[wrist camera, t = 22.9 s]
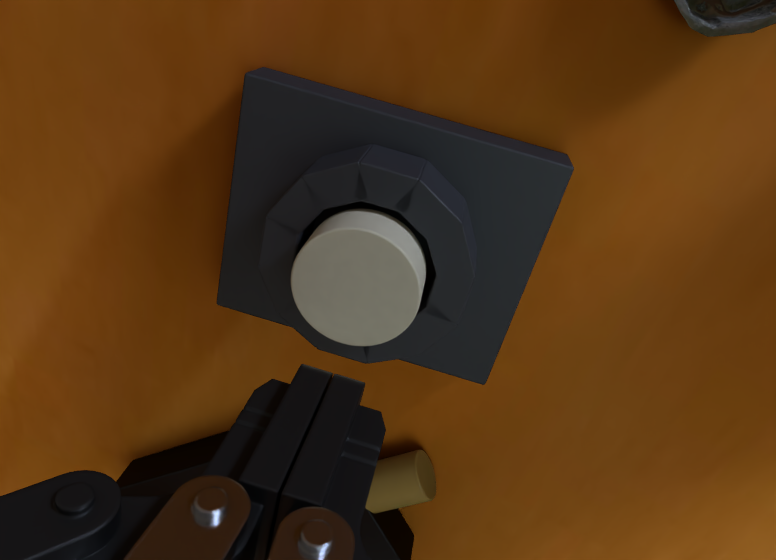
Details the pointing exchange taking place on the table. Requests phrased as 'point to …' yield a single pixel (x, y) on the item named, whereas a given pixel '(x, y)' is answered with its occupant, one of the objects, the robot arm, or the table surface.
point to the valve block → (381, 515)
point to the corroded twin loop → (727, 15)
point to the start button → (359, 277)
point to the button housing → (391, 196)
